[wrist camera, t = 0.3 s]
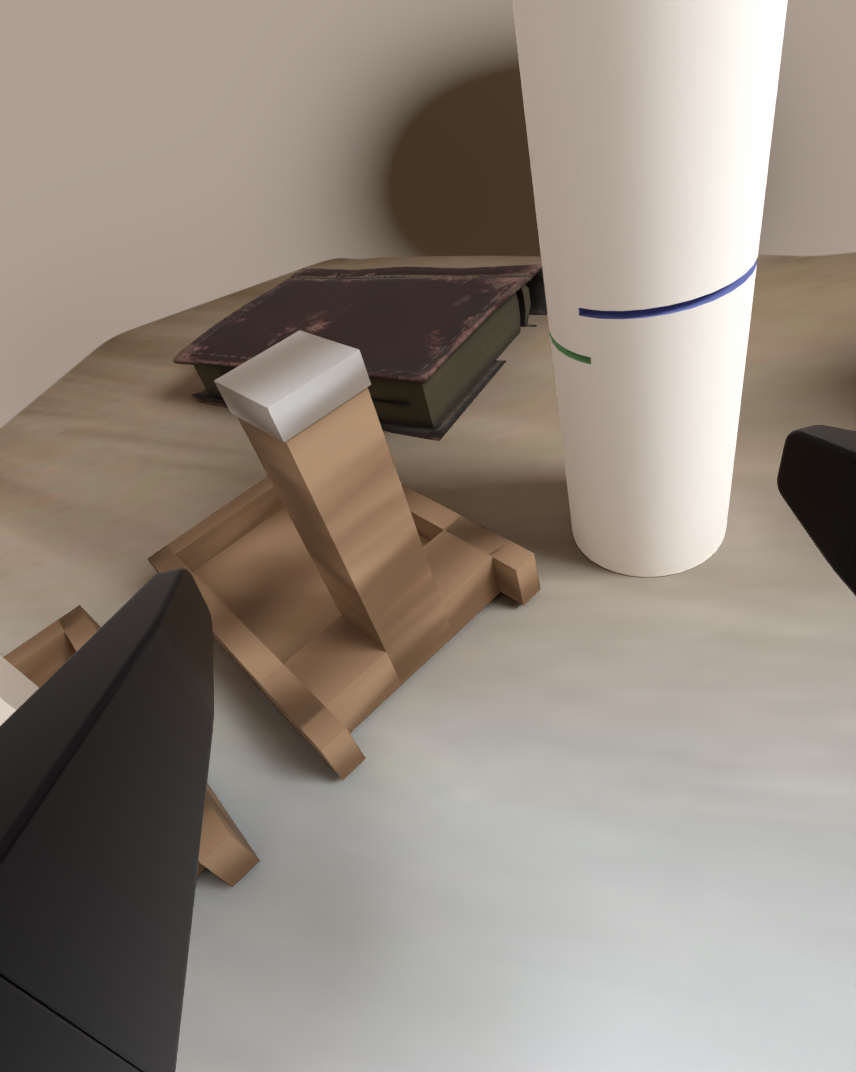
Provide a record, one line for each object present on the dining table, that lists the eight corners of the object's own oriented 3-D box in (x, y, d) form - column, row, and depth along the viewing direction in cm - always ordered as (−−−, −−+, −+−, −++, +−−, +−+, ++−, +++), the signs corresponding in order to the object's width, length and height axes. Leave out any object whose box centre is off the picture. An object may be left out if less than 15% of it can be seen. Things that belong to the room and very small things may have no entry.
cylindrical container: (694, 596, 27) (770, -381, 10) (546, 551, 31) (428, -205, 14) (746, 494, 30) (865, -356, 14) (608, 465, 34) (570, -221, 18)
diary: (323, 311, 63) (306, 261, 60) (552, 318, 50) (545, 255, 47) (191, 412, 53) (161, 358, 50) (434, 454, 40) (415, 385, 37)
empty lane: (540, 589, 29) (487, 291, 19) (342, 780, 24) (148, 513, 15) (332, 471, 40) (234, 246, 30) (169, 587, 35) (-5, 365, 26)
